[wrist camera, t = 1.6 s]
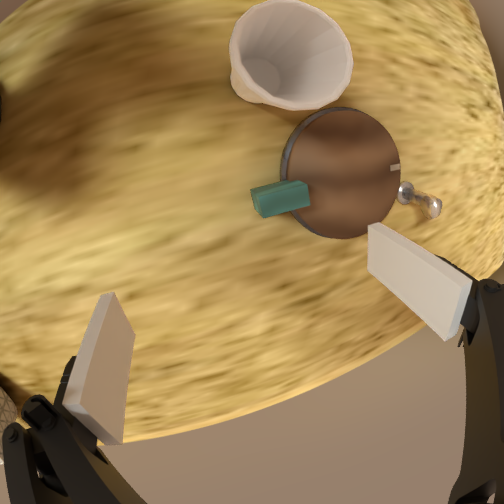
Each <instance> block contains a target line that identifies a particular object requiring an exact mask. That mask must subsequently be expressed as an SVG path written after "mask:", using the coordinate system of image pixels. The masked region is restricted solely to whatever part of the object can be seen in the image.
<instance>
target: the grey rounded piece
mask: <svg viewBox="0 0 504 504" xmlns="http://www.w3.org/2000/svg"><path fill="white" fill-rule="evenodd" d="M396 198H397V200H398V201H399V202H400V203H402V204H408V203H409V202H413V203H415V204H417V205H420V206H421V210H422V212H423V214H424V216H425V217H426V218H428V219H433V218H436V217H438V216H439V215H440V212H441V208H442V201H441V200H440V199H438V198H436V197H435V196H434V195H428V194H425V193H423V192H420V191H417V190H415V189H414V187H413V185H412V184H411V183H410V182H407V181H403V182H401V183H400V184H399V189H398V192H397V196H396Z"/></svg>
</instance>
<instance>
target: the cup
mask: <svg viewBox="0 0 504 504" xmlns="http://www.w3.org/2000/svg"><path fill="white" fill-rule="evenodd" d="M229 55H230V61H231V67H232V71H231V75H230V79H231V85H232V88H233V89H234V91H235V92H236V94H237V95H238V96H240V97H241V98H242V99H244V100H245V101H248V102H252V103H264V104H268V105H272V106H275V107H279V108H282V109H286V110H293V111H297V110H312V109H319V108H321V107H323V106H325V105H327V104H329V103H331V102H333V101H335V100H337V99H338V98H339V97H340V95H341V94H342V93H343V91H344V90H345V89H346V88H347V86H348V85H349V84H350V79H351V75H352V70H353V65H354V62H353V57H352V52H351V47H350V43H349V41H348V39H347V38H346V36H345V34H344V33H343V31H342V30H341V28H340V26H339V25H338V24H337V23H336V22H335V21H334V20H333V19H332V18H330V17H329V16H328V15H327V14H325V13H324V12H323V11H322V10H321V9H319V8H316V7H314V6H311V5H309V4H306V3H304V2H301V1H298V0H269V1H266V2H263V3H260V4H257V5H254V6H252V7H251V8H250V9H249V10H247V11H246V12H245V13H244V14H243V15H242V16H241V17H240V18H239V19H238V20H237V21H236V23H235V26H234V29H233V32H232V35H231V38H230V42H229Z"/></svg>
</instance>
